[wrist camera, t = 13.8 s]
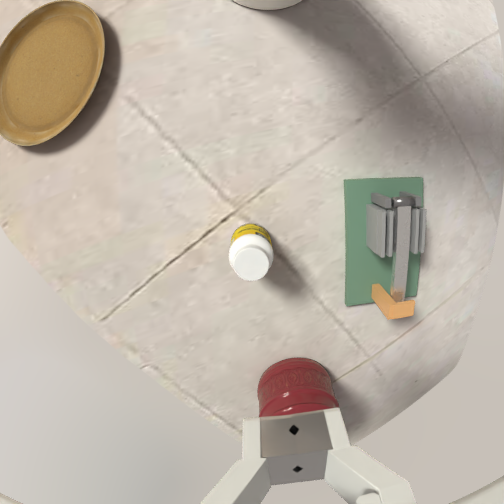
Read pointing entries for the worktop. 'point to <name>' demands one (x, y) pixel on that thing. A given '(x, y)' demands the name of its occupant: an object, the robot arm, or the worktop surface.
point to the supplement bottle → (251, 251)
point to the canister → (295, 388)
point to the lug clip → (391, 304)
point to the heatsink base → (379, 235)
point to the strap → (401, 245)
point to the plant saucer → (49, 70)
